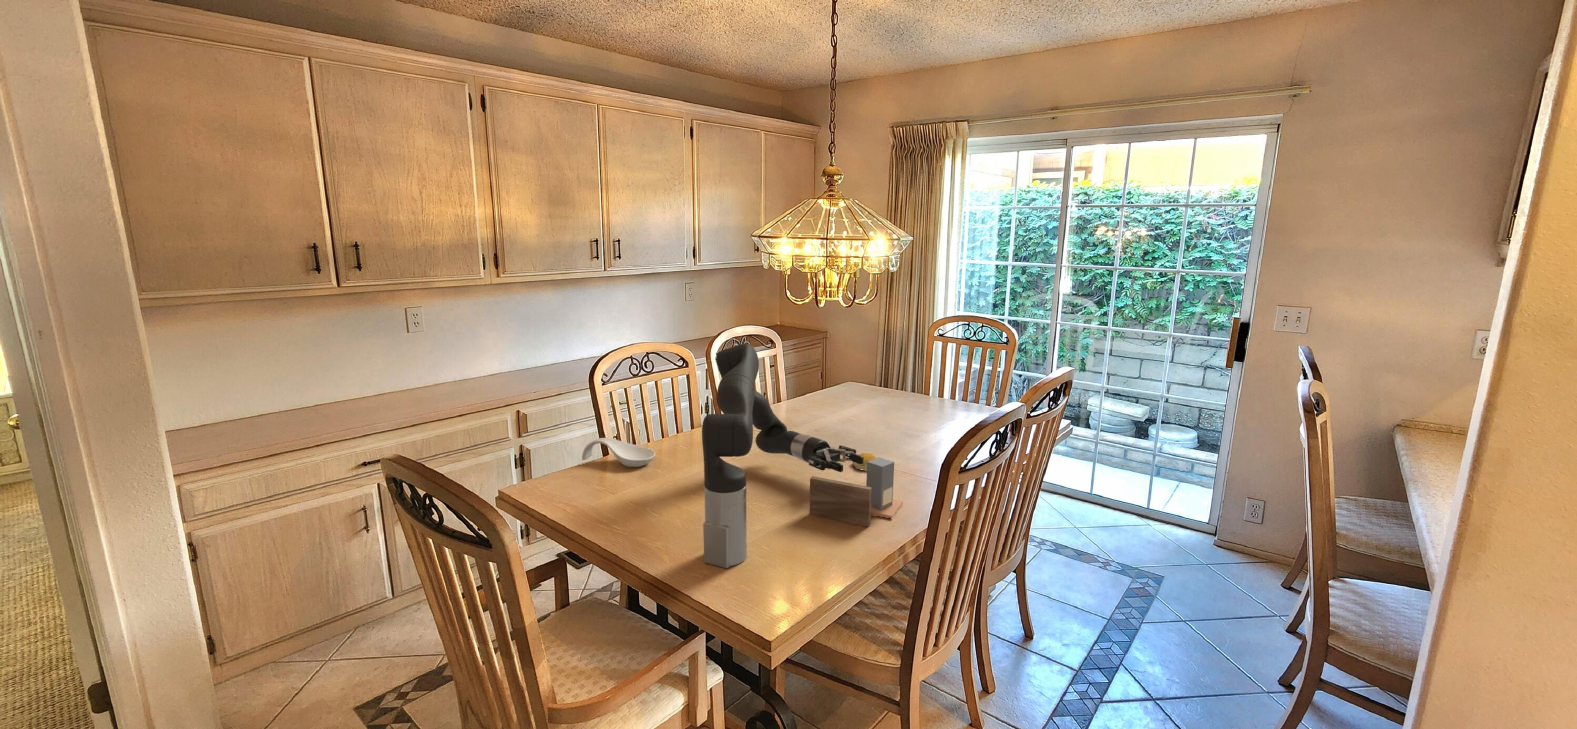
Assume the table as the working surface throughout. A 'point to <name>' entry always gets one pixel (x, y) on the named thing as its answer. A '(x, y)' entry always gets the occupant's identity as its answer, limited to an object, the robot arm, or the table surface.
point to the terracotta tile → (887, 509)
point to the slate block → (880, 482)
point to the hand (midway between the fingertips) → (852, 464)
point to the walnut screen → (840, 501)
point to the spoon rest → (623, 452)
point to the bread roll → (867, 458)
